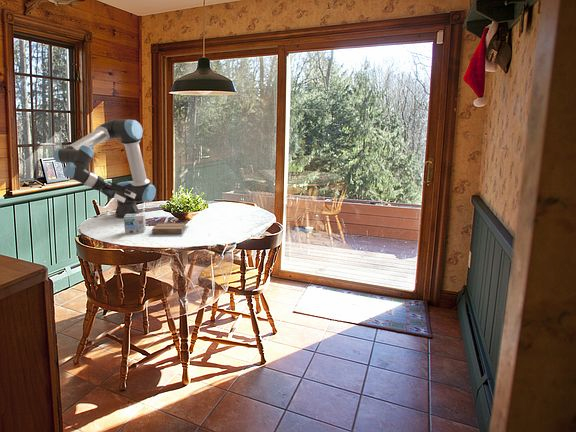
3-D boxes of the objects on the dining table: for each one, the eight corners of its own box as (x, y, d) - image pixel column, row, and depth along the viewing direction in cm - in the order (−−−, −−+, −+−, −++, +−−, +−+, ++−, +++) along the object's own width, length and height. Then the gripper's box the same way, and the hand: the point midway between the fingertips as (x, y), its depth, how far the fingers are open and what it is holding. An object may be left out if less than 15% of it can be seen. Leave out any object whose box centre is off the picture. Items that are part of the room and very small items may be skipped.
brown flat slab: (158, 227, 247) (158, 226, 246) (188, 227, 248) (188, 226, 248) (148, 238, 223) (148, 236, 223) (181, 238, 225) (181, 236, 225)
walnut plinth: (158, 228, 242) (157, 223, 241) (185, 228, 243) (185, 223, 242) (152, 234, 228) (152, 229, 227) (181, 234, 229) (181, 229, 229)
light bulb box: (124, 235, 230) (123, 216, 228) (126, 231, 236) (125, 213, 234) (144, 234, 232) (143, 215, 230) (146, 231, 238) (145, 213, 236)
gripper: (83, 191, 229) (118, 207, 242) (100, 182, 212) (137, 200, 225) (88, 180, 232) (122, 196, 245) (106, 170, 215) (142, 188, 228)
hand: (129, 198), depth 235 cm, fingers open, 13 cm apart
